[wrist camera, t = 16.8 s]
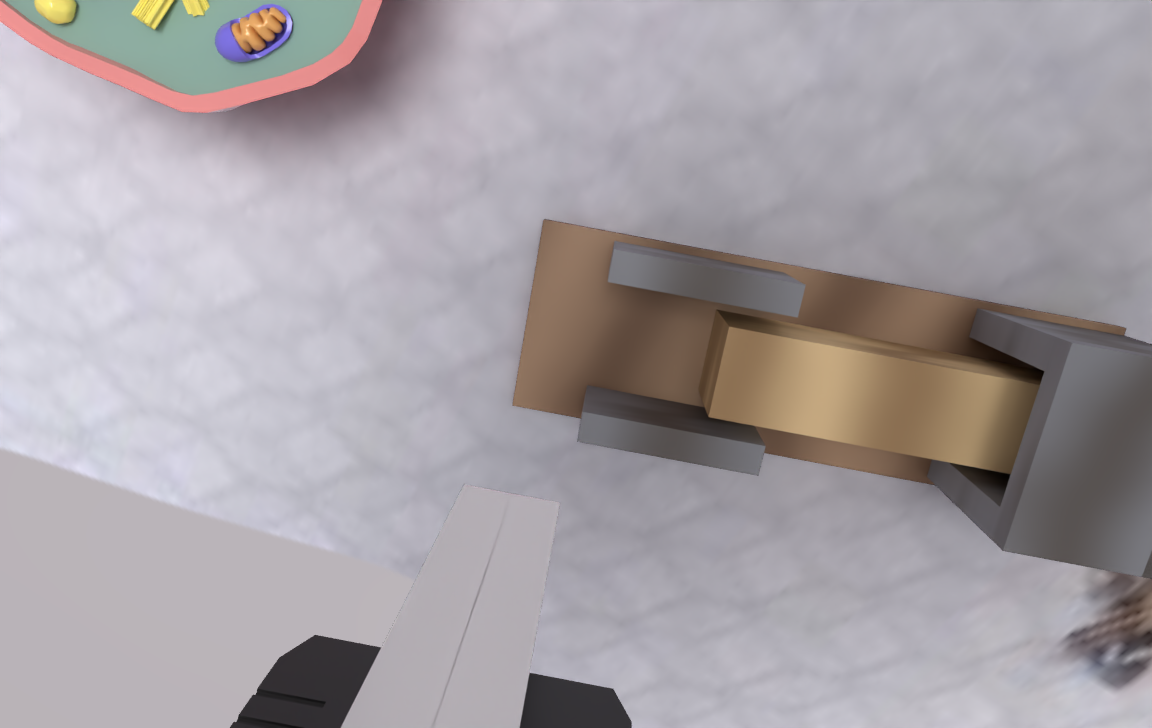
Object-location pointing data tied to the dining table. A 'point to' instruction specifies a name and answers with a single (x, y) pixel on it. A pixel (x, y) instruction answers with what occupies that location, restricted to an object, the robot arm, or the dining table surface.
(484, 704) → the robot arm
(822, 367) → the brass rectangular bar
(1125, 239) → the dining table surface
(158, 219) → the dining table surface
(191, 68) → the cell model
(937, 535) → the dining table surface
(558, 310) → the cap board
